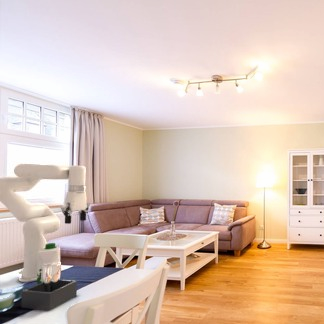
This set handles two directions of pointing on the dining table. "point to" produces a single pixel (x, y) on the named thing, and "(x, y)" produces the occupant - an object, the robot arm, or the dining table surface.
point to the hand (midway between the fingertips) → (75, 221)
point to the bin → (48, 296)
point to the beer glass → (51, 276)
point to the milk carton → (47, 258)
